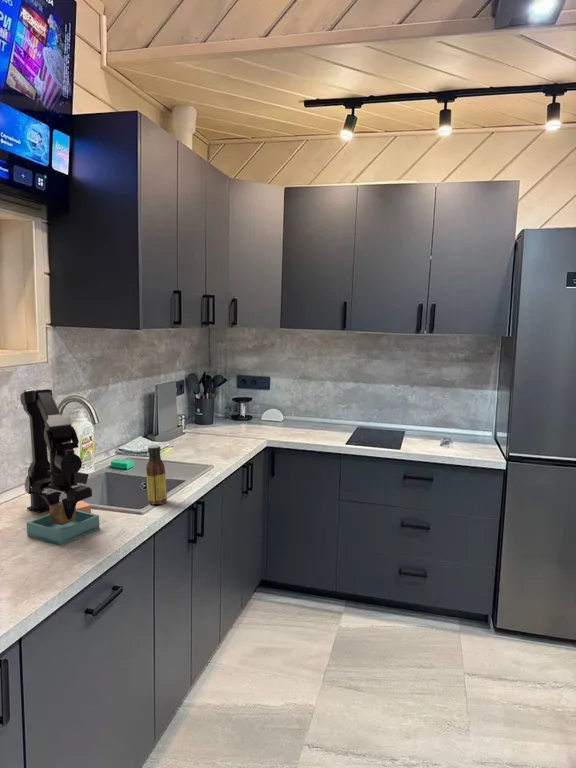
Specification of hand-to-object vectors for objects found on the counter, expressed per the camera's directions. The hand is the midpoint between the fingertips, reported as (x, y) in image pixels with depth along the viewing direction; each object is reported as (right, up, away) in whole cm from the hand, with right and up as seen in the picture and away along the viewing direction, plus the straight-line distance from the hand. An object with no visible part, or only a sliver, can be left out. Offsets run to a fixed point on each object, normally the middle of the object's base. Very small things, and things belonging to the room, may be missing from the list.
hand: (63, 517), depth 159 cm
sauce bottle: (+22, -2, +25) cm, 33 cm away
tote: (0, -4, +1) cm, 4 cm away
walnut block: (0, -1, 0) cm, 1 cm away
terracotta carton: (-1, -3, +16) cm, 16 cm away
